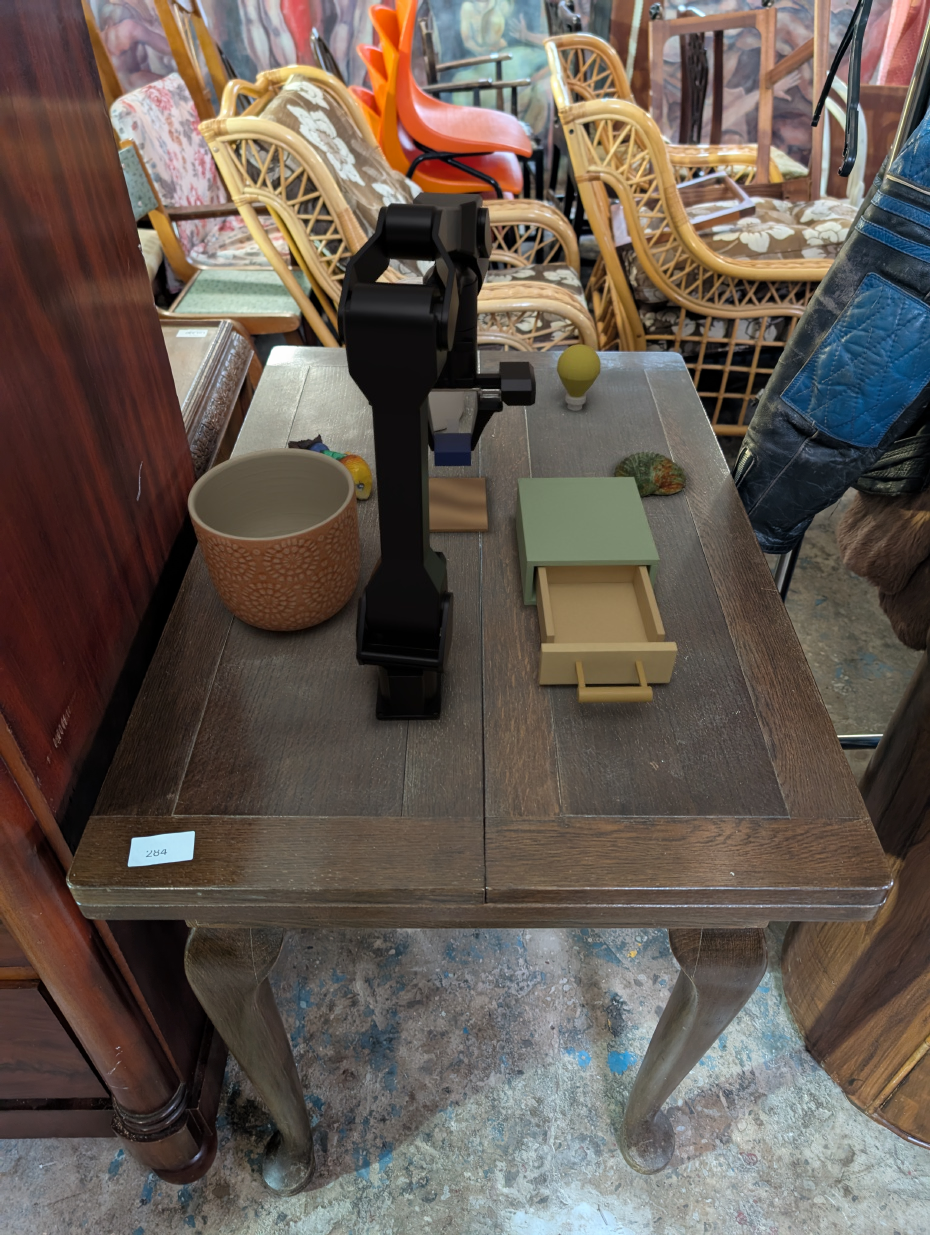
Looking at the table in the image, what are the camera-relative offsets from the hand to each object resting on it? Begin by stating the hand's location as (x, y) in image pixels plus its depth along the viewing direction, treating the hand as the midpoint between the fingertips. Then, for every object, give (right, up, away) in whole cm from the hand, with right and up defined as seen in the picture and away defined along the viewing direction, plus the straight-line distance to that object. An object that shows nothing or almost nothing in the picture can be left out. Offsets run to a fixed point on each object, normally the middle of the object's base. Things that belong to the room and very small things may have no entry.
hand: (452, 449), depth 96 cm
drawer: (+16, -24, -11) cm, 30 cm away
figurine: (-17, -2, +14) cm, 22 cm away
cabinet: (+15, -13, +2) cm, 20 cm away
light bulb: (+19, +13, +31) cm, 39 cm away
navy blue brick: (0, +1, +2) cm, 3 cm away
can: (-5, +12, +29) cm, 32 cm away
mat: (-2, -5, +11) cm, 12 cm away
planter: (-18, -18, -3) cm, 26 cm away
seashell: (+27, -1, +15) cm, 31 cm away
